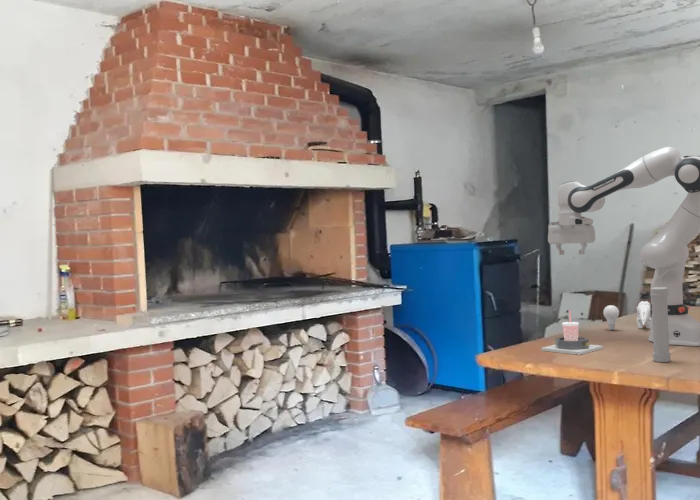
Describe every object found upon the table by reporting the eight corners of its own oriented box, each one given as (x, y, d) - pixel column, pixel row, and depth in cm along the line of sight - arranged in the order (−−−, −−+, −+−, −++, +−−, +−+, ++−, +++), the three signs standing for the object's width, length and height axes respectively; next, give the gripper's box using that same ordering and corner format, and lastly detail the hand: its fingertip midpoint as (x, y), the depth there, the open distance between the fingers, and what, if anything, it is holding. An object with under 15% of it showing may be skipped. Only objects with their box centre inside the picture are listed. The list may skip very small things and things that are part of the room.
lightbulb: (621, 331, 289) (620, 305, 288) (605, 331, 290) (604, 306, 290) (618, 329, 295) (617, 304, 295) (602, 329, 296) (601, 304, 296)
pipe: (649, 360, 227) (645, 270, 227) (667, 358, 228) (663, 269, 227) (658, 363, 222) (654, 271, 221) (676, 361, 222) (673, 270, 222)
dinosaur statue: (654, 322, 304) (653, 298, 303) (652, 336, 283) (651, 309, 282) (637, 322, 307) (636, 298, 306) (634, 335, 286) (633, 309, 285)
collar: (596, 346, 252) (596, 338, 251) (580, 350, 244) (579, 342, 244) (564, 343, 262) (564, 335, 262) (547, 347, 255) (547, 339, 255)
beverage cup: (579, 348, 249) (577, 310, 249) (561, 348, 252) (560, 310, 251) (580, 345, 255) (579, 308, 254) (563, 345, 257) (562, 308, 257)
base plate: (603, 348, 252) (603, 345, 252) (579, 355, 242) (579, 352, 242) (565, 344, 264) (565, 341, 264) (541, 350, 254) (541, 347, 254)
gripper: (544, 222, 286) (545, 255, 286) (588, 220, 270) (589, 254, 271) (552, 222, 290) (554, 254, 291) (596, 219, 274) (598, 253, 275)
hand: (571, 254), depth 281 cm, fingers open, 8 cm apart
